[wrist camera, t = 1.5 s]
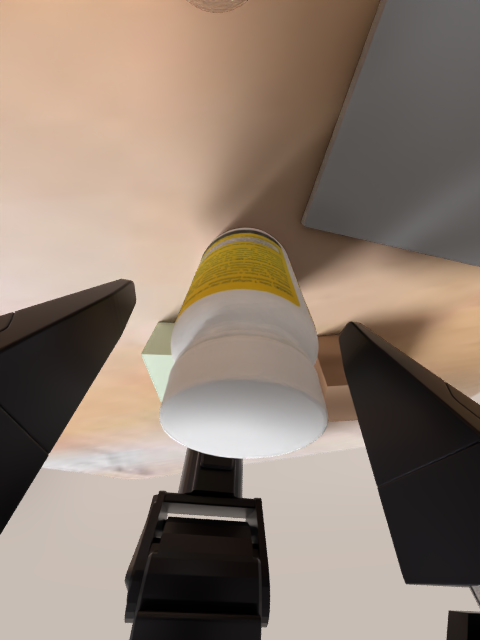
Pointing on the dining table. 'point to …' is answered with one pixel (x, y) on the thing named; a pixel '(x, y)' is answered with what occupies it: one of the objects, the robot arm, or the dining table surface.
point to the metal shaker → (217, 5)
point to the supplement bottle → (244, 355)
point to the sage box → (159, 356)
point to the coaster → (409, 135)
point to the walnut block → (333, 380)
